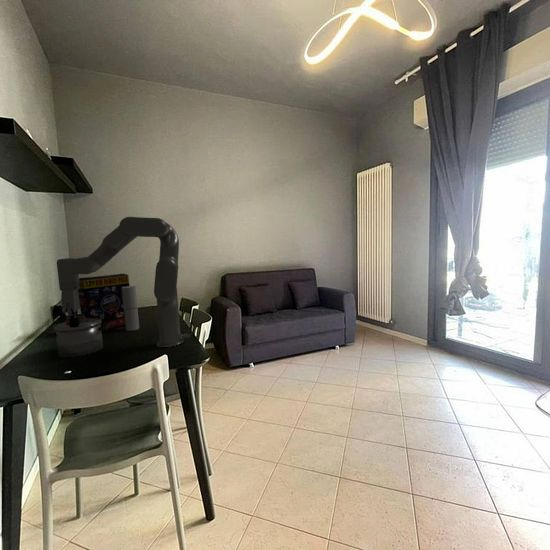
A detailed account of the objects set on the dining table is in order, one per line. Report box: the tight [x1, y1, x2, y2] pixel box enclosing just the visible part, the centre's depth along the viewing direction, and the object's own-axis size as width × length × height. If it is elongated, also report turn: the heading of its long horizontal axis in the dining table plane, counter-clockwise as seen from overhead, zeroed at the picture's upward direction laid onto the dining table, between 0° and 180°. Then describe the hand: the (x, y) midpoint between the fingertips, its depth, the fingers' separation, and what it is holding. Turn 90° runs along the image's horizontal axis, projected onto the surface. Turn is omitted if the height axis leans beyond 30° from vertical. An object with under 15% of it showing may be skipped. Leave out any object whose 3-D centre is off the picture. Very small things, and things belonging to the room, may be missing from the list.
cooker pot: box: [46, 324, 109, 359], centre depth 146 cm, size 24×20×12 cm
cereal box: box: [78, 273, 131, 332], centre depth 186 cm, size 27×11×32 cm, turn 142°
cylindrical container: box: [122, 285, 140, 332], centre depth 180 cm, size 7×7×25 cm
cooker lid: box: [53, 317, 102, 331], centre depth 145 cm, size 19×19×3 cm
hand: (74, 326), depth 138 cm, fingers closed
